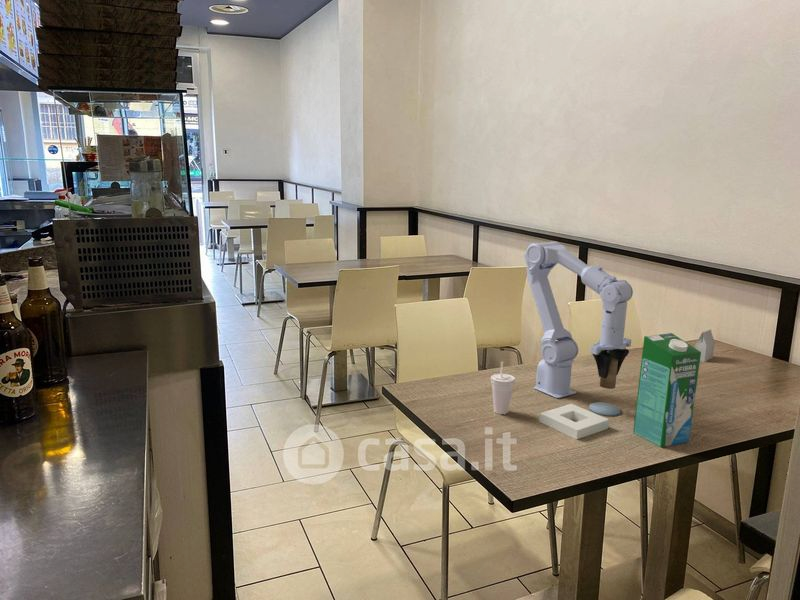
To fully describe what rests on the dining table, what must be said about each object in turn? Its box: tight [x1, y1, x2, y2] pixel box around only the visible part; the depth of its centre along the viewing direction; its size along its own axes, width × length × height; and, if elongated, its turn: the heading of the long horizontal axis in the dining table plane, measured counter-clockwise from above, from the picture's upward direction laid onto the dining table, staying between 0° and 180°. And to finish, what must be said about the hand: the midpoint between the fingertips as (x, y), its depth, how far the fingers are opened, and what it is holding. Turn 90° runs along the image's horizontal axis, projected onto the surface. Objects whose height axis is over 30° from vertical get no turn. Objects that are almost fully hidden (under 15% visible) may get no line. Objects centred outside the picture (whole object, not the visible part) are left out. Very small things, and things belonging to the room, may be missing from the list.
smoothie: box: [490, 361, 516, 415], centre depth 159 cm, size 6×6×14 cm
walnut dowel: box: [599, 358, 618, 390], centre depth 160 cm, size 4×4×8 cm
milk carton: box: [632, 332, 701, 448], centre depth 145 cm, size 9×9×25 cm
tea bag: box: [694, 329, 716, 363], centre depth 208 cm, size 4×7×10 cm, turn 131°
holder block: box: [539, 403, 610, 440], centre depth 153 cm, size 12×12×2 cm
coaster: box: [588, 401, 621, 417], centre depth 163 cm, size 8×8×1 cm
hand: (608, 375), depth 161 cm, fingers closed on walnut dowel, 4 cm apart
